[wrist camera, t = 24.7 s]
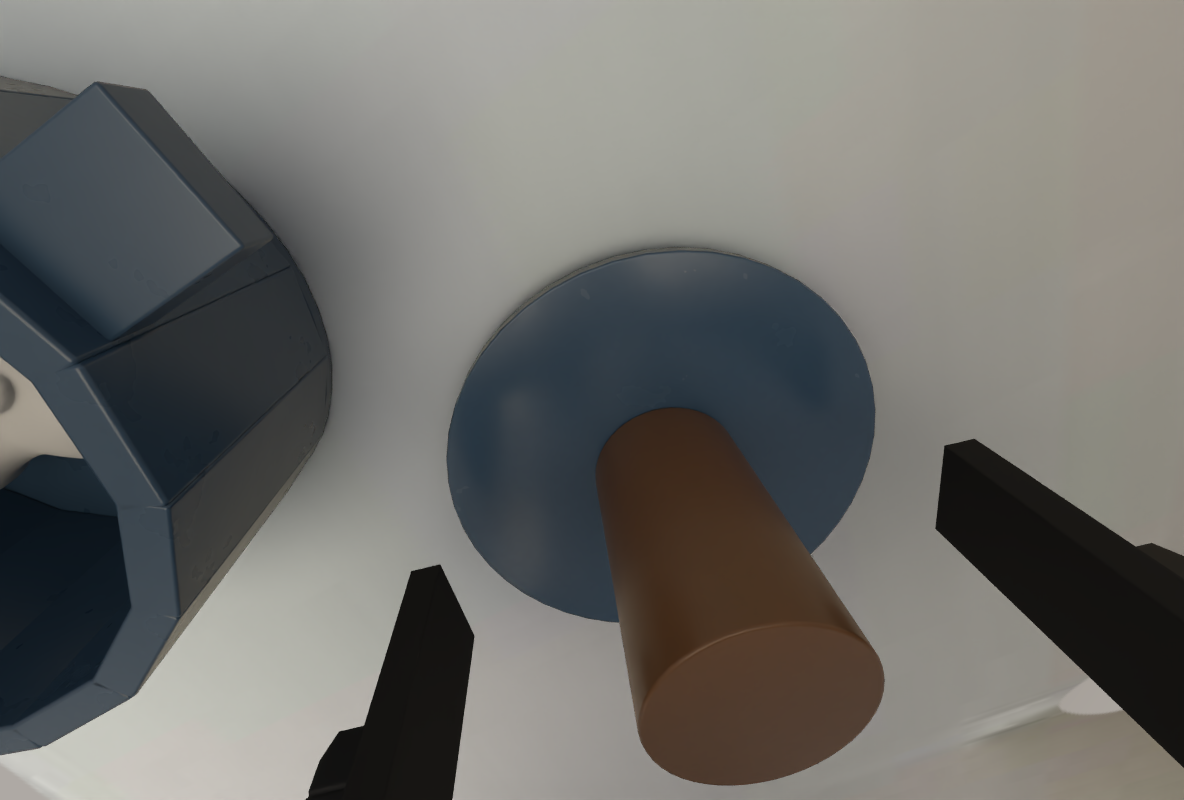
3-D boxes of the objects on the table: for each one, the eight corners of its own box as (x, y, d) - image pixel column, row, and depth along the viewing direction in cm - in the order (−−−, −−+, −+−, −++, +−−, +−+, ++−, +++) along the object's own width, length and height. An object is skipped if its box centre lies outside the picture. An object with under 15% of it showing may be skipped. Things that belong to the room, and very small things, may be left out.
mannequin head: (195, 237, 14) (267, 413, 15) (-77, 324, 14) (8, 494, 15) (27, 199, 10) (141, 449, 11) (-358, 325, 10) (-221, 562, 11)
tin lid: (900, 494, 19) (1166, 745, 11) (588, 647, 22) (619, 955, 13) (767, 143, 14) (1110, 128, 5) (359, 397, 16) (162, 665, 8)
